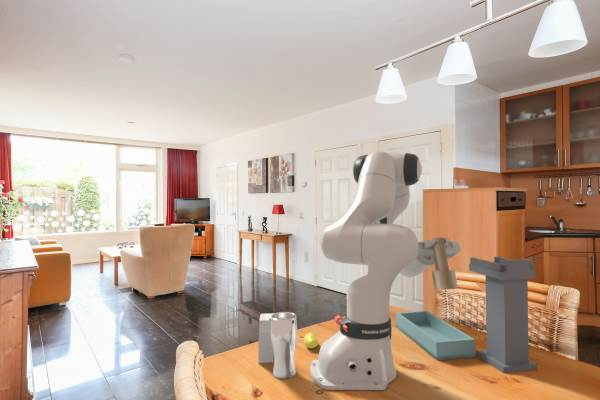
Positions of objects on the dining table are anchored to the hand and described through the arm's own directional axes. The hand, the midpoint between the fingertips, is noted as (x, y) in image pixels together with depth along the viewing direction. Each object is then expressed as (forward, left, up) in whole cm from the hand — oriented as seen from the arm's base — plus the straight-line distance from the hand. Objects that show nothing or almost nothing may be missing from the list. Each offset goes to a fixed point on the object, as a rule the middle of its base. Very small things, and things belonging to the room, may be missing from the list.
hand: (441, 240), depth 114 cm
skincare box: (-60, -8, -32) cm, 68 cm away
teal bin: (-7, -4, -32) cm, 33 cm away
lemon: (-46, -2, -32) cm, 56 cm away
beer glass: (-56, -17, -32) cm, 66 cm away
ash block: (0, +2, -8) cm, 8 cm away
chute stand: (+5, -20, -32) cm, 38 cm away
